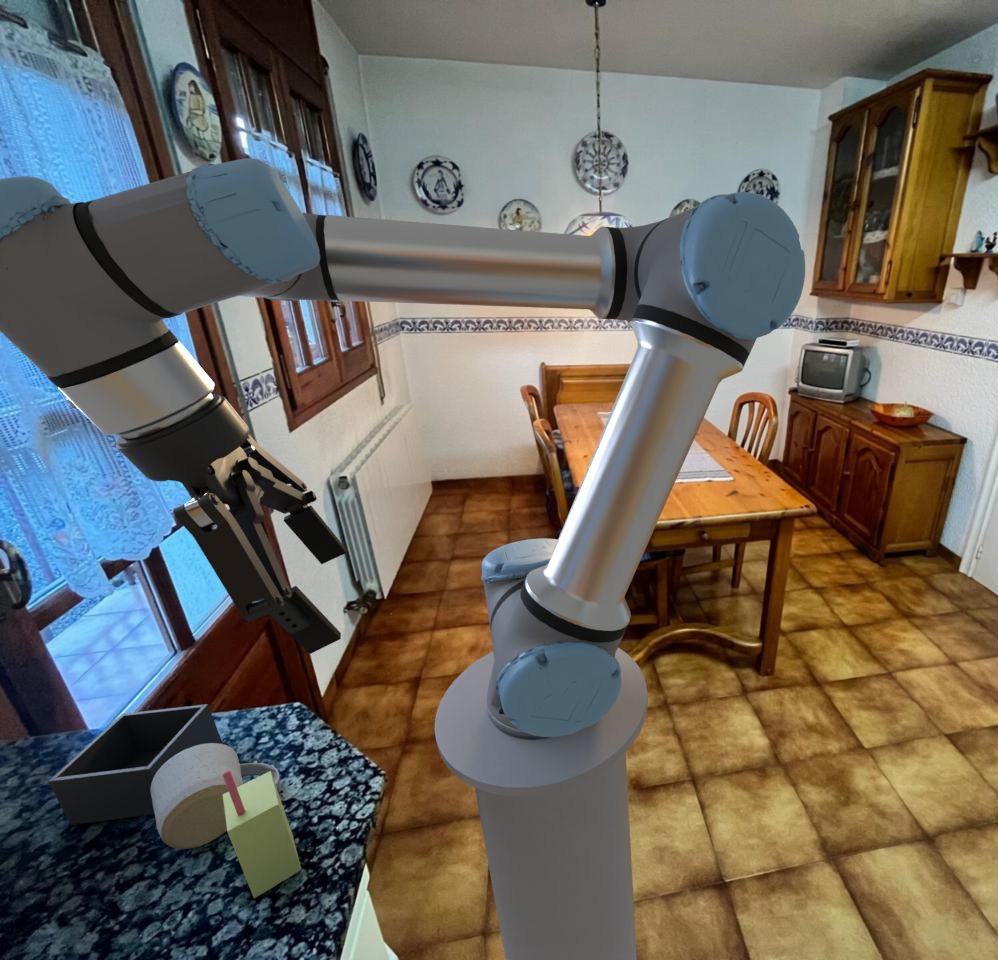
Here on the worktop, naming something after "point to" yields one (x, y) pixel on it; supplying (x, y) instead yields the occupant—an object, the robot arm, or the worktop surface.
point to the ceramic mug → (197, 793)
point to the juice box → (260, 832)
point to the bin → (128, 762)
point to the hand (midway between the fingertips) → (330, 596)
